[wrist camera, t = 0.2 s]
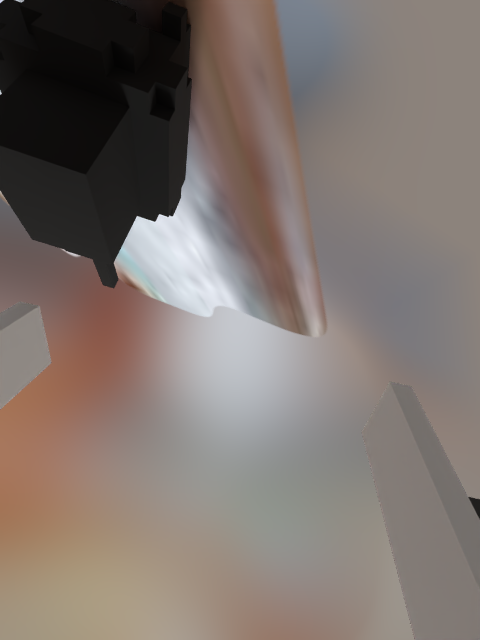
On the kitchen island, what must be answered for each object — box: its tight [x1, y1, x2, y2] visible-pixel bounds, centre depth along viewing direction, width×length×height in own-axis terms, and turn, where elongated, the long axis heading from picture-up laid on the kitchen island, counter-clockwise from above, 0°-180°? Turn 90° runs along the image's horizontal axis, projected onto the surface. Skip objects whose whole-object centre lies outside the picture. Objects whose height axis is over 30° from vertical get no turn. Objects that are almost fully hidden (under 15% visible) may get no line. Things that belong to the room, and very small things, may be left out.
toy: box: [0, 0, 192, 288], centre depth 17 cm, size 8×14×10 cm, turn 167°
